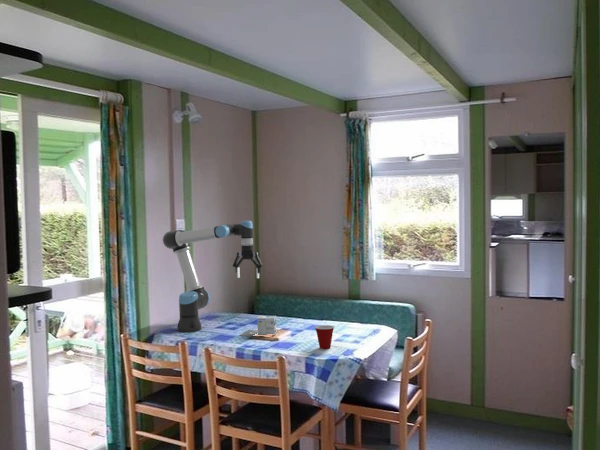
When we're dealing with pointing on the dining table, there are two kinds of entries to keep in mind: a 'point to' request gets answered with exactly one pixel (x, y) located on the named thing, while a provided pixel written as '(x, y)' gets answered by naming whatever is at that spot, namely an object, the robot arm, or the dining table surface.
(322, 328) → the plastic cup
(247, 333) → the tile
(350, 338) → the dining table surface
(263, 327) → the light bulb box
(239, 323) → the dining table surface
